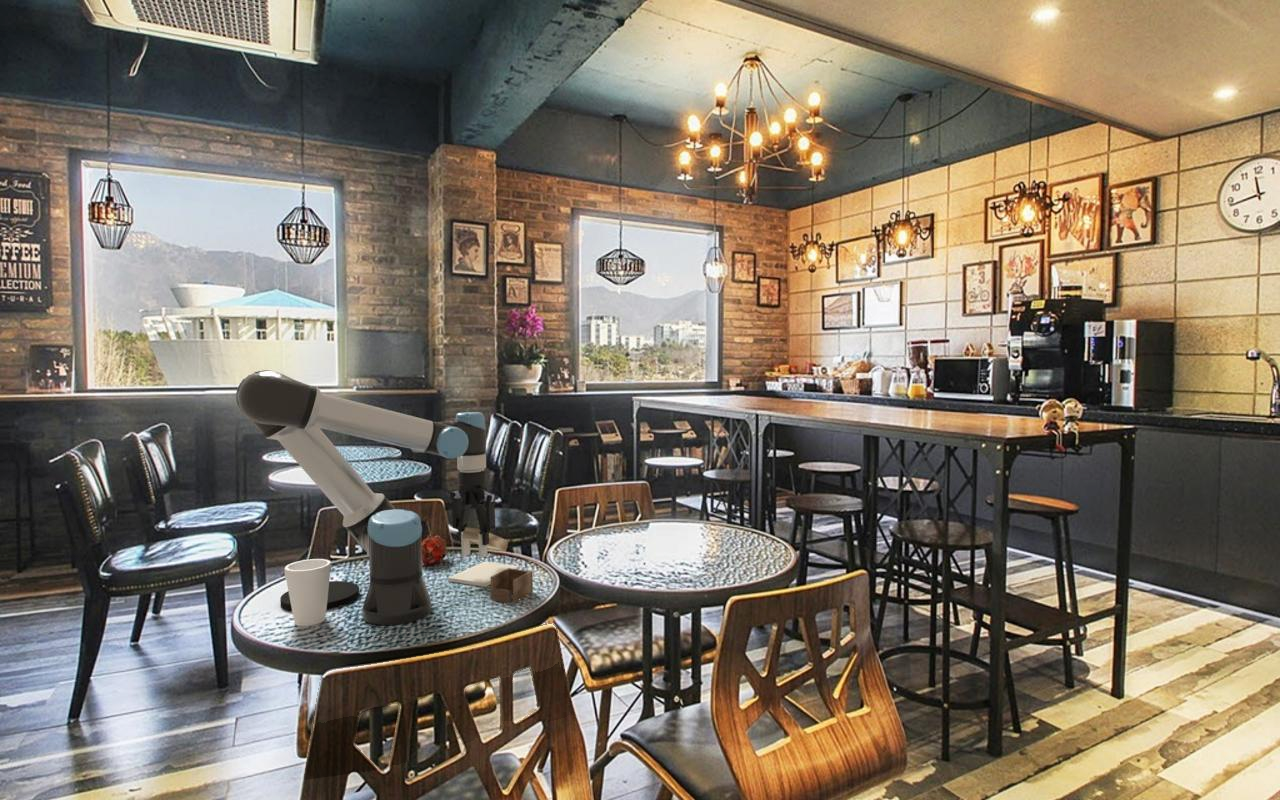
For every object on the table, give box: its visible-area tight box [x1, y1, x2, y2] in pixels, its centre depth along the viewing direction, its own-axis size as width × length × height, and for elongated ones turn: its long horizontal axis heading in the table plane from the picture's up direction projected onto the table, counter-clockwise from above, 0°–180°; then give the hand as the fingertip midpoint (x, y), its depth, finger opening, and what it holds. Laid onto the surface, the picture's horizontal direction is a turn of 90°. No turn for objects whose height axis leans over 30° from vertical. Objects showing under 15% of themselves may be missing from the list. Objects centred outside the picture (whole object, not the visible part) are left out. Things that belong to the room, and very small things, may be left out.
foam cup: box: [284, 558, 332, 627], centre depth 155 cm, size 10×9×13 cm
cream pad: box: [447, 561, 521, 588], centre depth 187 cm, size 16×12×1 cm
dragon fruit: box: [422, 535, 449, 567], centre depth 199 cm, size 8×8×12 cm
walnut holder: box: [490, 568, 534, 604], centre depth 170 cm, size 9×7×6 cm
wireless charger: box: [279, 580, 360, 613], centre depth 170 cm, size 18×18×2 cm
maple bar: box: [463, 526, 509, 552], centre depth 187 cm, size 14×5×3 cm, turn 155°
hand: (474, 555), depth 183 cm, fingers closed on maple bar, 5 cm apart
